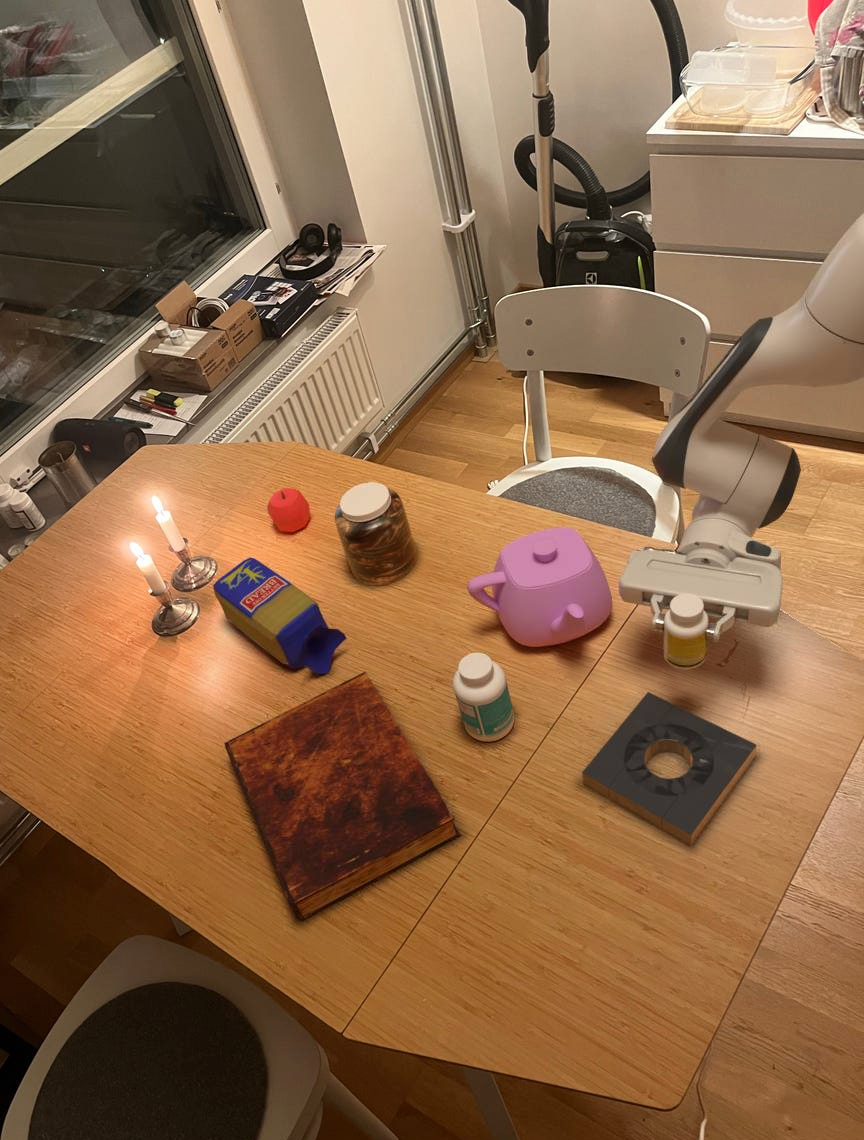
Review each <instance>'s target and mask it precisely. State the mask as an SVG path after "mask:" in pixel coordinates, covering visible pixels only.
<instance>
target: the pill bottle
mask: <svg viewBox="0 0 864 1140" xmlns="http://www.w3.org/2000/svg"><path fill="white" fill-rule="evenodd" d="M457 668H458V669H457V670H456V672H455V673H454V675H453V679H452V687H453V692H454V694H455V696H454V697H455V699H456V702H457V705H458V708H459V712H460V716H461V719H462V722H463V726H464V728H465V730H466V732H467V734H468V735H469V736H470V737H471V738H473V739H475V740H477V741H480V742H494V741H495V742H496V741H498V740H500V739H502V738H504V737H506V736H507V735H508V734H509V733H510V731H511V730H512V729H513V726H514V724H515V712H514V708H513V704H512V699H511V693H510V691H509V686H508V680H507V676H506V674H505V670H504V669H503V668H502V667H501V665H499V664H498V663H497V662H495V661H493V660H492V659H491V657H490V656H489V655H487V654H486V653H482V652H471V653H469V654H467V655H465V656H464V657H462V658H461V659H460V661H459V662H458V666H457Z"/></svg>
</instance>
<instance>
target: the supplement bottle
mask: <svg viewBox="0 0 864 1140" xmlns="http://www.w3.org/2000/svg"><path fill="white" fill-rule="evenodd" d="M665 614H666V615H665V617H664V632H663V657H664V660H665V661H666V663H667V664H668V665H669V666H671V667H672V668H674V669H678V670H682V671H686V670H687V671H688V670H692V669H697V668H698V667H700V666H701V665H703V664H704V662H705V660H706V659H707V654H708V642H709V641H708V640H706V631H707V628H708V625H709V622H710V620H709V617H708V616H707V614H706V612H705V611H704V604H703V601H702V600H701V599H700V598H699V597H698V596H696V595H693V594H680V595H678V596H676V597H674V598H673V599H672V601H671V603H670V609H669V610H667V612H666V613H665Z"/></svg>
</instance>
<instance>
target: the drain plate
mask: <svg viewBox="0 0 864 1140" xmlns="http://www.w3.org/2000/svg"><path fill="white" fill-rule="evenodd" d="M757 746H758V745H757V744H756V743H754V742H752V741H750V740H748V739H745V738H744V737H742V736H740V735H737V734H735V733H734V732H731V731H729V730H727V729H726V728H724V727H722V726H720V725H717V724H715V723H713V722H711V721H709V720H707V719H705V718H703V717H700V716H698V715H697V714H695V713H692V712H691V711H688V710H686V709H684V708H682V707H680V706H678V705H676V704H674V703H672V702H670V701H668V700H666V699H664V698H662V697H659V696H657V695H655V694H654V693H651V692H649V691H647V692H646V694H645V695H644V696H643V697H642V698H641V700H640V701H639V702H638V704H637V705H636V706H635V707H634V708H633V710H632V711H631V712H630V713H629V714H628V716H627V717H626V718H625V719H624V720H623V722H622V723H621V724H620V725H619V727H618V728H617V729H616V730H615V732H614V733H613V734H612V735H611V736H610V737H609V739H608V740H607V741H606V743H605V744H604V745H603V746H602V747H601V748H600V750H599V751H598V752H597V754H596V755H595V756H594V757H593V758H592V760H591V761H590V762H589V763H588V764H587V766H586V767H585V768H584V769H583V770H582V772H581V775H582V783H583V785H584V786H586V787H587V788H588V789H591V790H592V791H594V792H596V793H597V794H599V795H601V796H603V797H605V798H606V799H608V800H610V801H611V802H613V803H615V804H617V805H618V806H620V807H622V808H624V809H626V810H627V811H628V812H630V813H633V814H634V815H636V816H638V817H639V818H641V819H643V820H644V821H645V822H648V823H650V824H651V825H653V826H655V827H656V828H658V829H660V830H662V831H663V832H665V833H667V834H669V835H671V836H672V837H674V838H676V839H677V840H679V841H681V842H682V843H684V844H686V845H687V846H689V847H692V845H693V844H694V843H695V841H696V840H697V839H698V837H699V836H700V835H701V834H702V832H703V831H704V829H705V827H706V826H707V825H708V823H709V822H710V820H711V819H712V818H713V816H714V815H715V813H716V812H717V811H718V809H719V808H720V807H721V805H722V804H723V802H724V801H725V800H726V798H727V797H728V796H729V794H730V793H731V791H732V790H733V789H734V787H735V786H736V784H737V783H738V782H739V780H740V779H741V778H742V776H743V775H744V774H745V772H746V771H747V769H748V768H749V767H750V765H751V764H752V763H753V761H754V760H755V758H756V754H757ZM666 752H668V753H673V754H674V753H675V754H677V755H679V756H681V757H682V758H684V759H685V760H686V761H687V762H688V764H689V765H690V768H689V769H688V771H687V772H686V773H685V774H683V775H680V776H679V777H673V778H665V777H660V776H659V775H656V774H655V773H653V772H651V770H650V769H649V768H648V767H647V763H648V761H649V760H650V759H651V758H652V757H653V756H656V755H657V754H660V753H666Z"/></svg>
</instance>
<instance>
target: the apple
mask: <svg viewBox="0 0 864 1140" xmlns="http://www.w3.org/2000/svg"><path fill="white" fill-rule="evenodd" d="M266 508H267V514H268V516H269V517H270V519H271V520H272V522H273V523H274V525H276V527H277V528H278V530H279V532H285V533H286V532H287V533H295V532H297V531H298V530H301V529H303V528H305V527H306V525H308V524H307V523H308V522H309V520H310V518H311V510H310V509H311V508H310V504H309V502H308V501H307V499H306V498H305V496H304V495H303V494H302V492H301V490H300V489H299V490H298V489H297V488H295V487H294V488H293V487H290V488H289V487H282V488H281V489H279V490H277V491H275V492H273V494H272V495H271V496H270V499H269V501H268V503H267V506H266Z"/></svg>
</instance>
